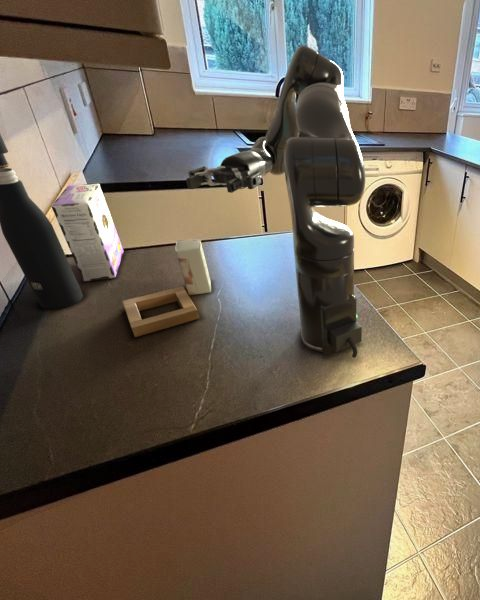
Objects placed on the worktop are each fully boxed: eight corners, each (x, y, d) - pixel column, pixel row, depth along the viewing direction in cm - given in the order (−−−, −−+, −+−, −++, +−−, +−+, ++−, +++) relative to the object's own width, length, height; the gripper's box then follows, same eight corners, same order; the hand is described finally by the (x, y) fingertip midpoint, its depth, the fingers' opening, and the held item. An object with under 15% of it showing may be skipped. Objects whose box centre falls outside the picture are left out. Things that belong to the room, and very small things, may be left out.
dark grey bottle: (84, 288, 76) (13, 126, 60) (81, 304, 71) (4, 133, 55) (43, 295, 73) (-43, 126, 57) (37, 312, 68) (-58, 133, 52)
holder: (199, 318, 70) (197, 309, 69) (135, 337, 64) (131, 328, 63) (185, 294, 76) (182, 286, 75) (125, 309, 71) (122, 300, 70)
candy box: (95, 255, 88) (66, 184, 80) (125, 251, 91) (100, 182, 82) (82, 282, 78) (48, 204, 69) (116, 278, 80) (87, 202, 71)
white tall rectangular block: (188, 284, 80) (176, 239, 75) (211, 281, 81) (201, 237, 76) (187, 296, 76) (174, 250, 71) (211, 293, 77) (200, 248, 72)
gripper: (213, 150, 90) (171, 164, 76) (270, 155, 89) (239, 170, 76) (219, 182, 94) (180, 200, 80) (274, 187, 93) (244, 206, 80)
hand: (208, 186), depth 78 cm, fingers open, 8 cm apart
